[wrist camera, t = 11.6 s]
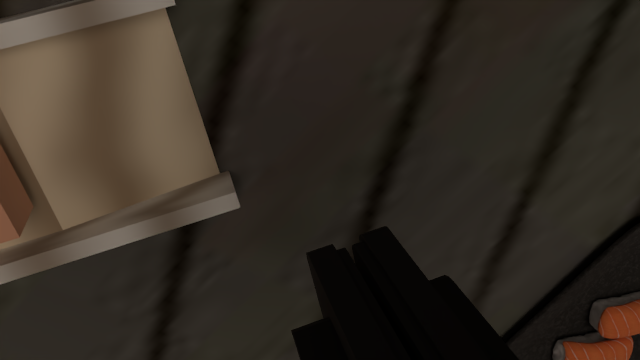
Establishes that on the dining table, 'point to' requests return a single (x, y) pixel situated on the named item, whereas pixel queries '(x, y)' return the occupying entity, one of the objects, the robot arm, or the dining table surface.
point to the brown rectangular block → (12, 202)
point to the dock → (101, 131)
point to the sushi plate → (590, 311)
